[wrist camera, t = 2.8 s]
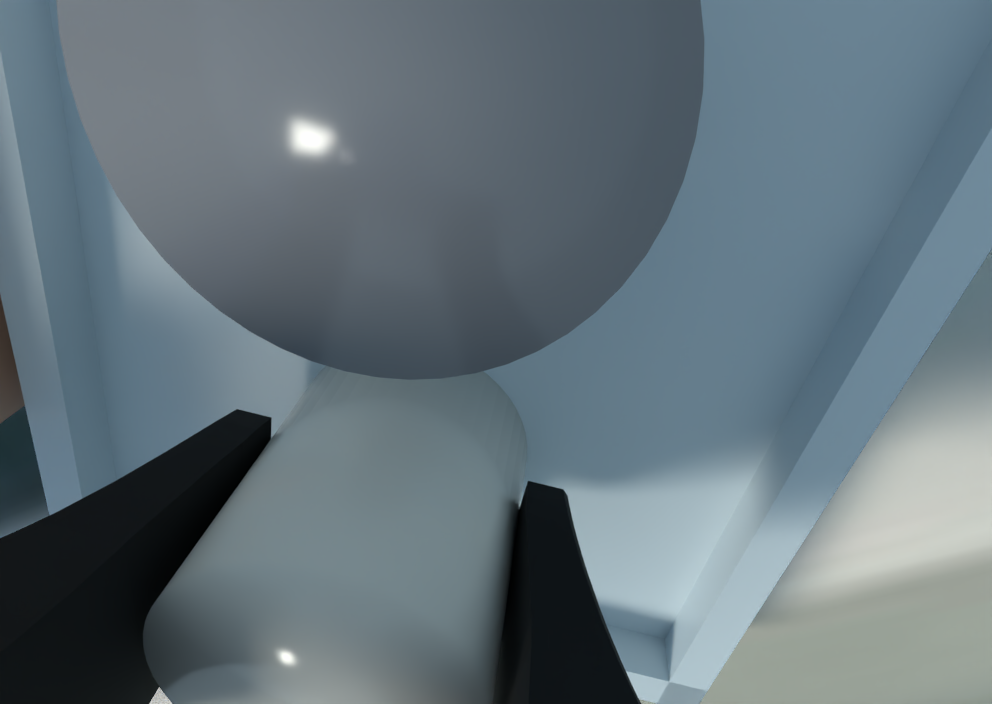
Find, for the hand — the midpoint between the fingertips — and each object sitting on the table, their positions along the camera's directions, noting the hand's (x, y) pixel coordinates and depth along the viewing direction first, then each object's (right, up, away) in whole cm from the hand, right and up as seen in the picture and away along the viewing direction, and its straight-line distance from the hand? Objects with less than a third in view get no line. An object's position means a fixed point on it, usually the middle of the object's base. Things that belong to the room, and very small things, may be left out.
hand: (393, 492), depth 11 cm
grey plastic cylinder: (+2, +7, -2) cm, 7 cm away
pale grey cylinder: (0, +1, +1) cm, 1 cm away
